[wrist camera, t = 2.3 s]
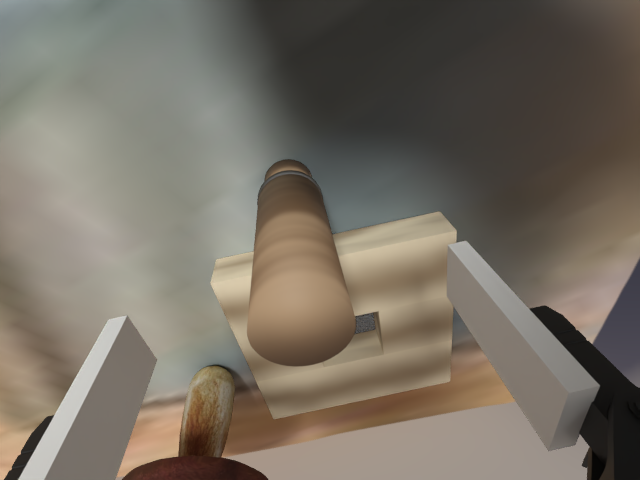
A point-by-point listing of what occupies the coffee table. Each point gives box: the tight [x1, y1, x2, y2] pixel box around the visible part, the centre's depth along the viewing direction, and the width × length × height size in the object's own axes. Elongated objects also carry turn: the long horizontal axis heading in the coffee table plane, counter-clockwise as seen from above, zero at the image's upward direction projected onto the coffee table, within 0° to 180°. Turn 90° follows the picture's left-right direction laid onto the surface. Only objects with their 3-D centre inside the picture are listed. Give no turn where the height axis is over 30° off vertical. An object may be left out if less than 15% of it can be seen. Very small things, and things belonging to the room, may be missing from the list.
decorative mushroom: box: [122, 366, 268, 480], centre depth 28 cm, size 11×11×15 cm
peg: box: [247, 159, 356, 367], centre depth 18 cm, size 4×4×14 cm
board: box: [210, 211, 457, 419], centre depth 31 cm, size 18×18×3 cm
